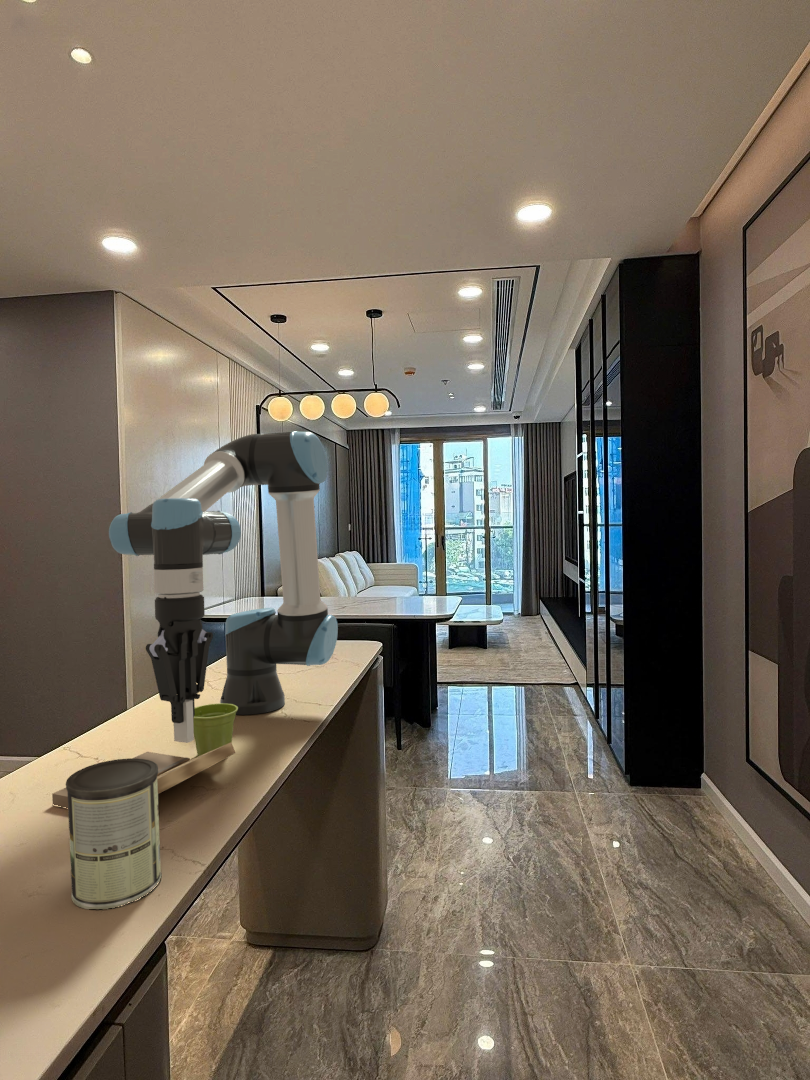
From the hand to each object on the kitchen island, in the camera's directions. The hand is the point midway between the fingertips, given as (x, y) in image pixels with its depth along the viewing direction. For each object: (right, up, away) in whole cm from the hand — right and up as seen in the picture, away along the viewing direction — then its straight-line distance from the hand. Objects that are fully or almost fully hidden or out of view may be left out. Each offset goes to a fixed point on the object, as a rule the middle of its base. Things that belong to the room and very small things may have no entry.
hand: (184, 740), depth 106 cm
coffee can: (0, -10, -25) cm, 27 cm away
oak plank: (-2, -7, +1) cm, 8 cm away
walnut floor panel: (-12, -10, +6) cm, 16 cm away
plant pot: (-1, -9, +20) cm, 22 cm away
